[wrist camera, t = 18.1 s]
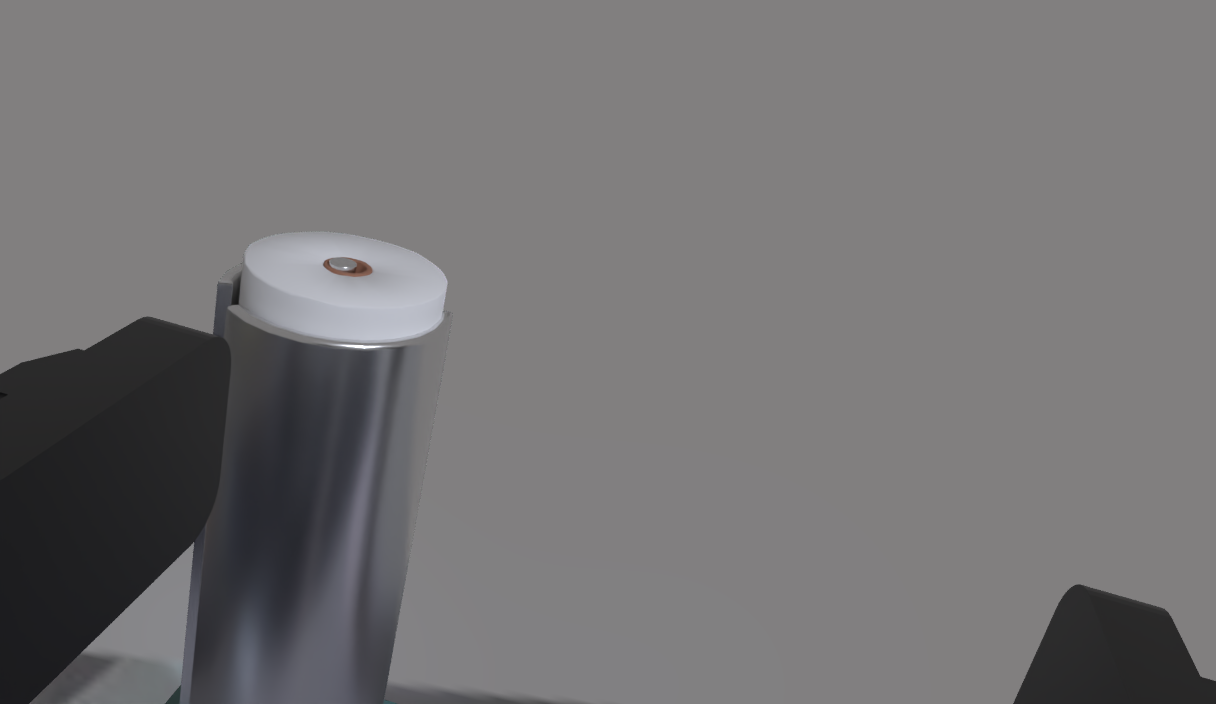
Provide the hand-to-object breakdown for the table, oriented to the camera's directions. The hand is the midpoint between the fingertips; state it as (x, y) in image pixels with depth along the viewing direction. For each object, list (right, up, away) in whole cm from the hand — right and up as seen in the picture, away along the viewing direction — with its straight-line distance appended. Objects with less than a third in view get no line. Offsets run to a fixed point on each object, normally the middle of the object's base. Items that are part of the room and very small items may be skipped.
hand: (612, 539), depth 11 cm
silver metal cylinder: (-13, -18, +31) cm, 38 cm away
